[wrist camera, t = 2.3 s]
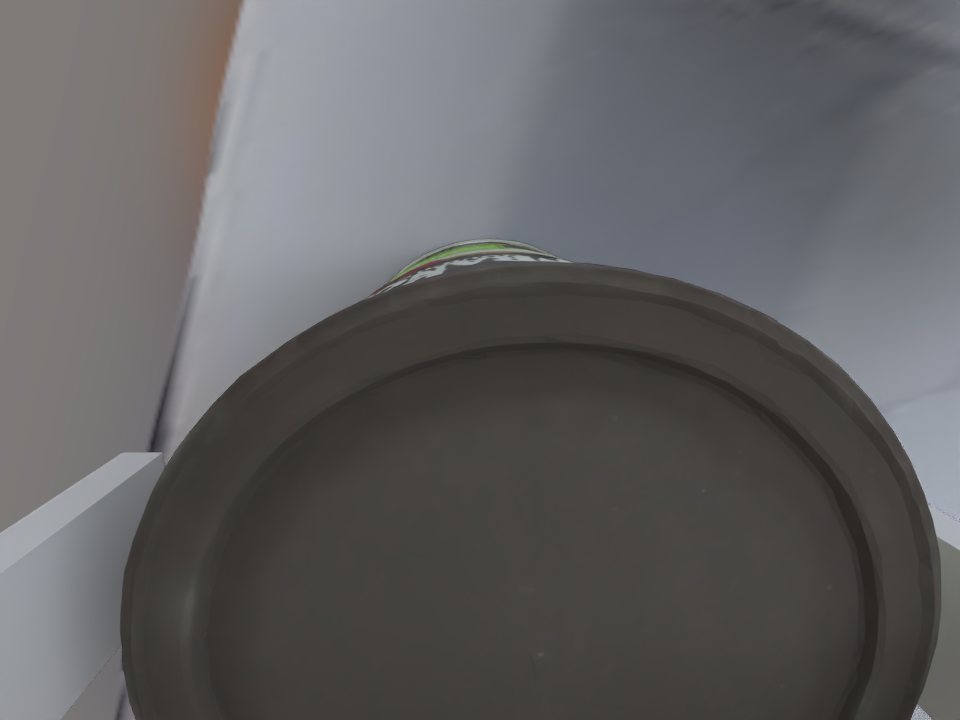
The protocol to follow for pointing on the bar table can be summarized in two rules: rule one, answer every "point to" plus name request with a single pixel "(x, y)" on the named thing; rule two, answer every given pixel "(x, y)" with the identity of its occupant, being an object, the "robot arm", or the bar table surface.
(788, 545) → the coffee can
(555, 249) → the bar table surface
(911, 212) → the bar table surface
